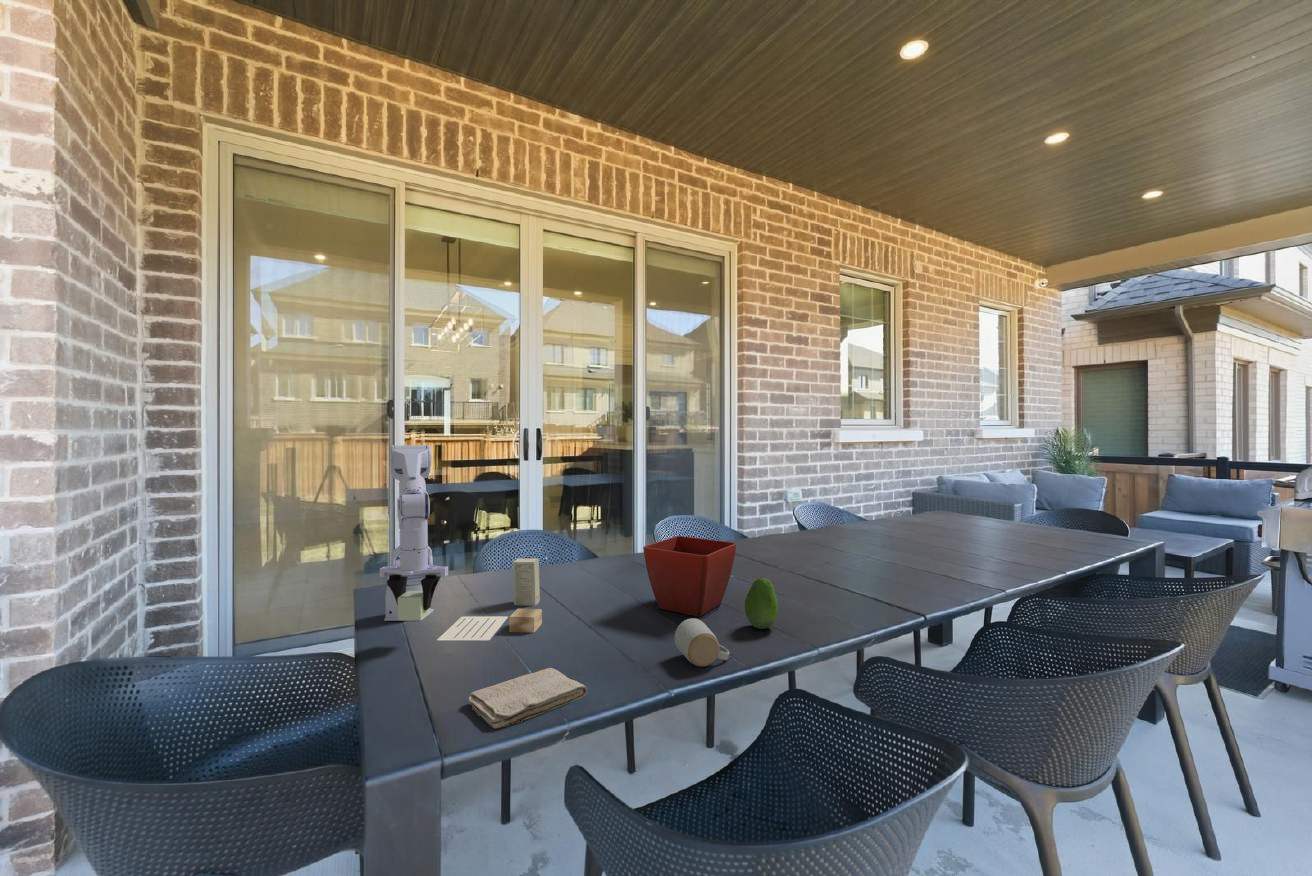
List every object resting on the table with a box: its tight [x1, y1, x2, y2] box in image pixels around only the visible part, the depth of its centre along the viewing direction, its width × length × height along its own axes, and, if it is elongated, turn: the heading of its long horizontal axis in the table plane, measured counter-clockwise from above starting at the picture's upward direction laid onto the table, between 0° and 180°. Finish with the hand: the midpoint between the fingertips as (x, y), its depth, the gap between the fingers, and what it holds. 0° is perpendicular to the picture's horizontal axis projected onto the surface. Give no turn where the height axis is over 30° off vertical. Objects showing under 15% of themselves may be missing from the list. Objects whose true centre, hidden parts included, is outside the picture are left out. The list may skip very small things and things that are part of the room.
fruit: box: [744, 577, 779, 630], centre depth 133 cm, size 8×8×12 cm
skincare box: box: [512, 557, 541, 607], centre depth 152 cm, size 6×4×12 cm
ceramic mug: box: [674, 618, 730, 668], centre depth 115 cm, size 11×8×8 cm
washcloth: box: [468, 667, 588, 729], centre depth 98 cm, size 12×18×3 cm, turn 133°
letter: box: [436, 615, 510, 642], centre depth 133 cm, size 12×16×1 cm
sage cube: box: [397, 591, 431, 622], centre depth 123 cm, size 5×5×5 cm
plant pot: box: [642, 535, 737, 617], centre depth 149 cm, size 19×19×17 cm
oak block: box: [508, 608, 543, 634], centre depth 133 cm, size 6×6×4 cm
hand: (414, 608), depth 123 cm, fingers closed on sage cube, 5 cm apart
